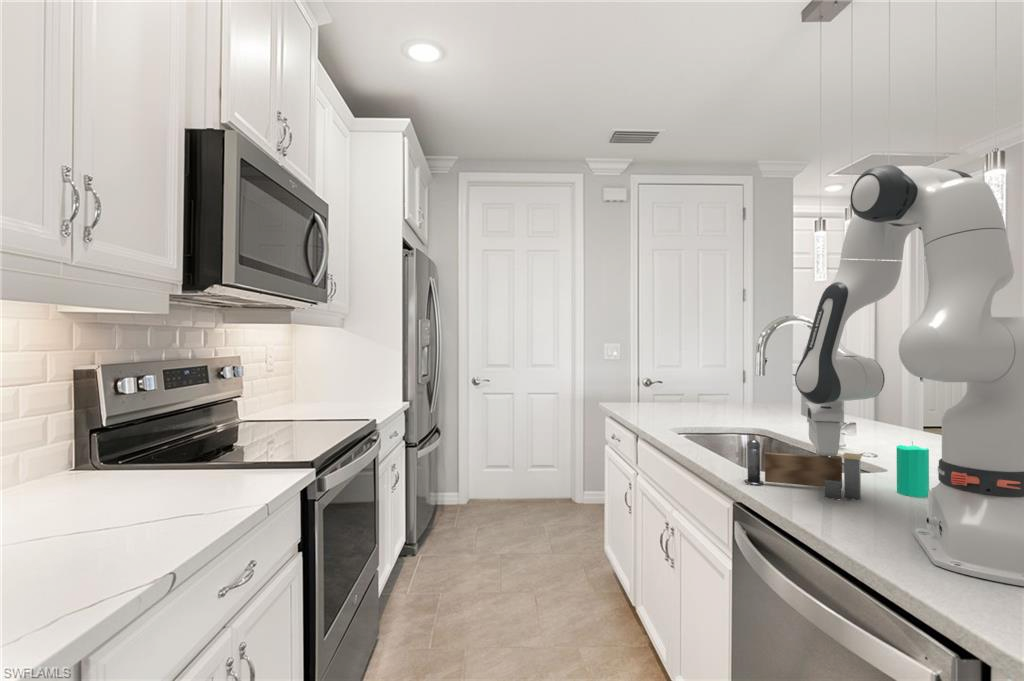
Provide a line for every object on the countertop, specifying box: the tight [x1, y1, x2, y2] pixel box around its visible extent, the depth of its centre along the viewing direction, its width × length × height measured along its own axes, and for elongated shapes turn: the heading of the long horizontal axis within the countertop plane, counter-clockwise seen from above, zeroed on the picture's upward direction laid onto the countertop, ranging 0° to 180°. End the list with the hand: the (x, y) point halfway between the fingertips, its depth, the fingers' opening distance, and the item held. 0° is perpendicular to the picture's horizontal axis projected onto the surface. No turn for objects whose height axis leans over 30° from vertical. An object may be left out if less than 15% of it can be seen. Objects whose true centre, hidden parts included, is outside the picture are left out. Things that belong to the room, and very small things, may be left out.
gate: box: [764, 452, 843, 490], centre depth 126 cm, size 16×2×7 cm, turn 66°
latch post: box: [823, 452, 862, 501], centre depth 118 cm, size 5×7×10 cm
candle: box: [896, 440, 930, 498], centre depth 121 cm, size 6×6×12 cm
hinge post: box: [743, 438, 765, 487], centre depth 130 cm, size 4×4×11 cm
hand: (822, 466), depth 126 cm, fingers closed
